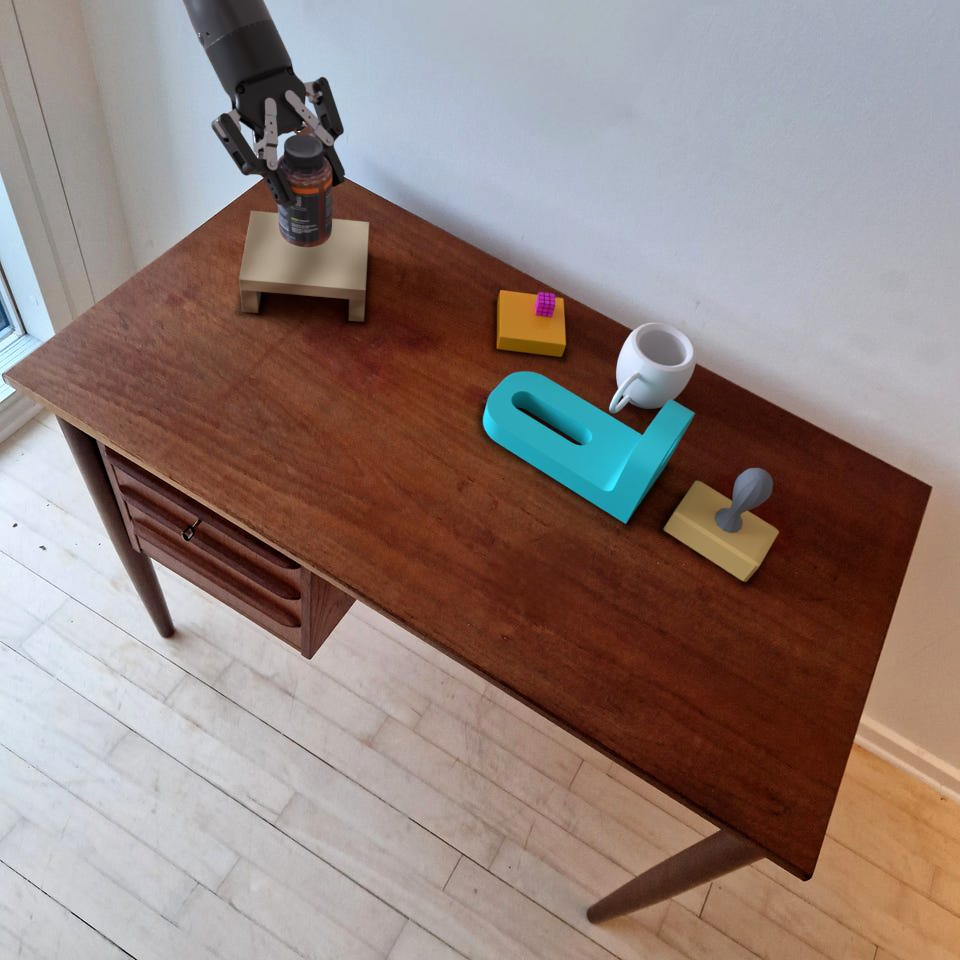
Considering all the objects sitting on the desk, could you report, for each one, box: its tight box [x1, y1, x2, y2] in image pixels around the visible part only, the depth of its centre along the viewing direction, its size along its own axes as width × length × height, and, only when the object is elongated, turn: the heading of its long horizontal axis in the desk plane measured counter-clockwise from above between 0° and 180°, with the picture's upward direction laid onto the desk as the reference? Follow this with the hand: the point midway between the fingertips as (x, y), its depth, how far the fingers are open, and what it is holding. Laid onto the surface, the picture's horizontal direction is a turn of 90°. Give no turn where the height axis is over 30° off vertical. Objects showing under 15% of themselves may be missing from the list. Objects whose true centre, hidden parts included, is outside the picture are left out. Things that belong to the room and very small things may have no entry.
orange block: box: [496, 289, 567, 358], centre depth 101 cm, size 8×8×4 cm
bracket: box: [482, 371, 696, 524], centre depth 89 cm, size 20×9×12 cm, turn 56°
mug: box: [608, 321, 697, 415], centre depth 96 cm, size 12×8×8 cm
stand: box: [238, 210, 370, 323], centre depth 100 cm, size 14×12×5 cm
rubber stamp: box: [663, 467, 780, 583], centre depth 84 cm, size 10×6×12 cm, turn 55°
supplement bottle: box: [277, 134, 333, 247], centre depth 92 cm, size 6×6×11 cm
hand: (315, 194), depth 91 cm, fingers closed on supplement bottle, 6 cm apart
